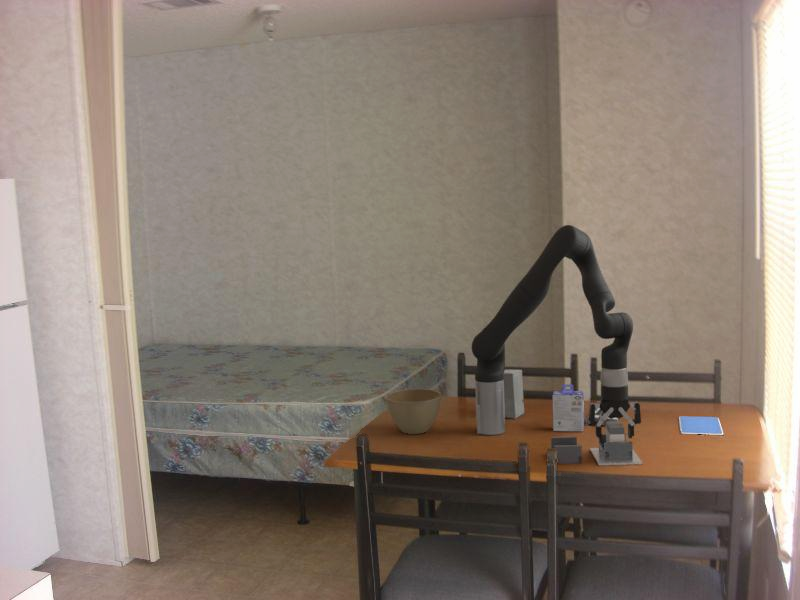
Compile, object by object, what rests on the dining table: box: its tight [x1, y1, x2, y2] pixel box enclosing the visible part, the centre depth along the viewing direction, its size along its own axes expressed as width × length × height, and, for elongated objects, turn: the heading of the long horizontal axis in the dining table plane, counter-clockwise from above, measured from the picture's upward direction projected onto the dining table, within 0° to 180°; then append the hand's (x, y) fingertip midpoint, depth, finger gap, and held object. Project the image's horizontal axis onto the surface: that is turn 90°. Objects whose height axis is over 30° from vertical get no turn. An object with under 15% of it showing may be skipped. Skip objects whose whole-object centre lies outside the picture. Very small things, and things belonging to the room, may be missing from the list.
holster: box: [550, 435, 583, 465], centre depth 233 cm, size 7×9×5 cm
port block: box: [589, 432, 643, 466], centre depth 232 cm, size 12×14×6 cm
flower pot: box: [385, 388, 442, 435], centre depth 267 cm, size 18×18×12 cm
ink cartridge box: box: [551, 384, 585, 432], centre depth 261 cm, size 10×6×14 cm, turn 78°
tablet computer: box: [678, 415, 724, 435], centre depth 258 cm, size 19×13×1 cm, turn 163°
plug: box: [605, 421, 626, 442], centre depth 232 cm, size 4×6×9 cm, turn 177°
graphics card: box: [585, 401, 620, 427], centre depth 274 cm, size 10×3×25 cm
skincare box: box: [504, 368, 525, 420], centre depth 281 cm, size 8×7×16 cm
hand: (614, 438), depth 232 cm, fingers open, 8 cm apart
